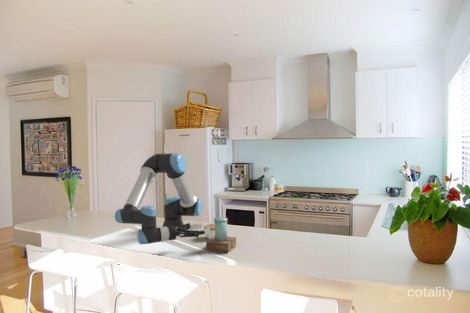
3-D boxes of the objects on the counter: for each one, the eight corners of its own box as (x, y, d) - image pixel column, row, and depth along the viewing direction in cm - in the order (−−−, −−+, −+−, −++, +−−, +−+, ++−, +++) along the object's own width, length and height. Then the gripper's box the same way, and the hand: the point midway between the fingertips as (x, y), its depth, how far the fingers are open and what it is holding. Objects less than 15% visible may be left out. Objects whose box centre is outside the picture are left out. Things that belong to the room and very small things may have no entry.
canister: (217, 237, 203) (217, 216, 202) (229, 238, 200) (229, 217, 199) (212, 241, 195) (211, 219, 195) (224, 242, 193) (224, 220, 192)
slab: (215, 244, 206) (215, 235, 206) (236, 245, 202) (235, 237, 202) (206, 250, 194) (206, 242, 194) (228, 253, 190) (227, 244, 189)
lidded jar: (210, 241, 211) (209, 226, 210) (201, 238, 220) (200, 223, 219) (224, 238, 217) (224, 223, 217) (215, 234, 226) (214, 220, 225)
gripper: (162, 234, 196) (198, 229, 205) (174, 246, 173) (213, 240, 182) (162, 221, 195) (197, 217, 204) (173, 232, 173) (213, 226, 182)
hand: (205, 228), depth 193 cm, fingers open, 13 cm apart
